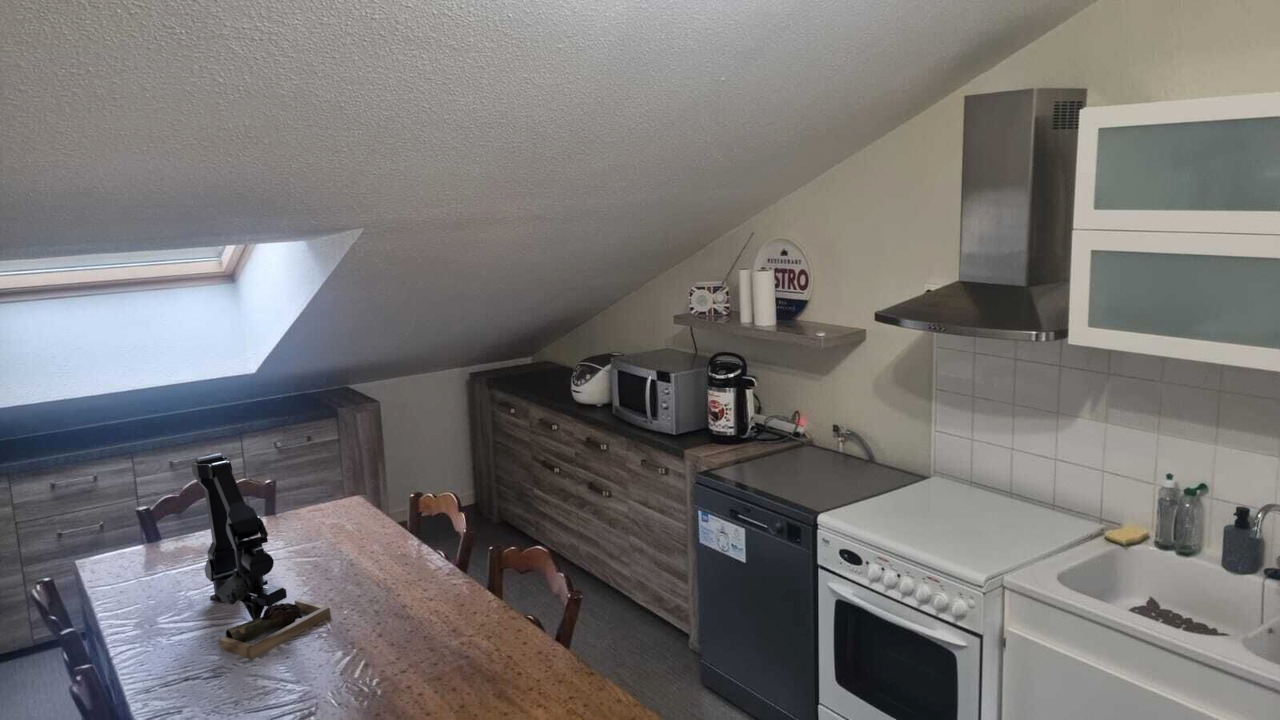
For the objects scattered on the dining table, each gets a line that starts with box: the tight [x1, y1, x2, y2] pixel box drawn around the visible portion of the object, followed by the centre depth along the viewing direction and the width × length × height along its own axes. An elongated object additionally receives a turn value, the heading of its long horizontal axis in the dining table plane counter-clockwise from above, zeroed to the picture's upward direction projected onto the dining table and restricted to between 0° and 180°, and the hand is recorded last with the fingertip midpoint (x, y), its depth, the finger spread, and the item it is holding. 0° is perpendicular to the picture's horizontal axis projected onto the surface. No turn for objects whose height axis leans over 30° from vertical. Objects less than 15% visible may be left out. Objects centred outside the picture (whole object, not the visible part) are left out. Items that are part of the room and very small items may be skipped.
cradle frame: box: [219, 598, 332, 660], centre depth 236 cm, size 11×24×2 cm, turn 150°
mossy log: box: [225, 602, 304, 643], centre depth 236 cm, size 18×7×6 cm, turn 134°
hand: (256, 621), depth 240 cm, fingers closed
